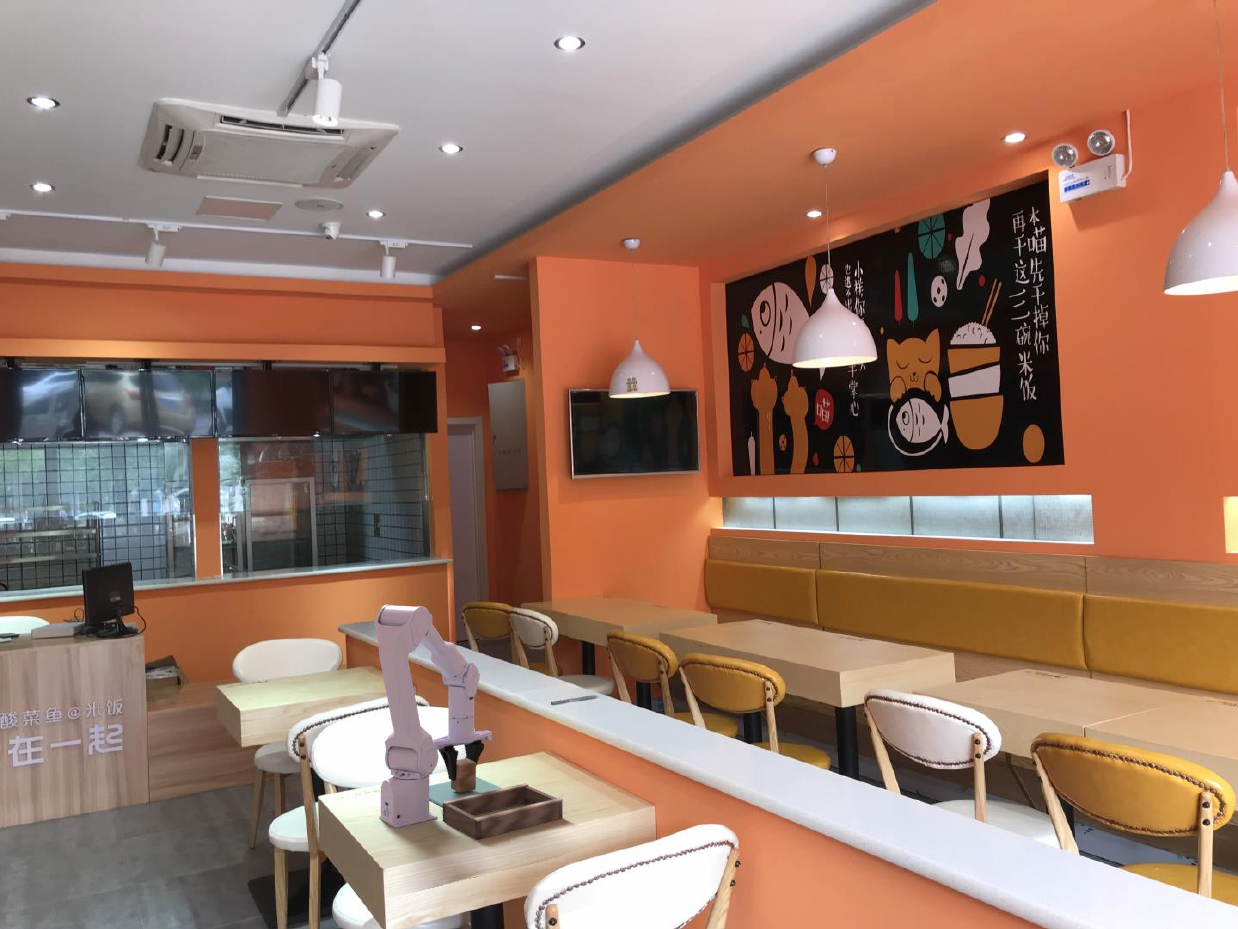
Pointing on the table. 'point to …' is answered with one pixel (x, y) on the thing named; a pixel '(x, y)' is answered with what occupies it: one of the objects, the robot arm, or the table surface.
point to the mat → (445, 793)
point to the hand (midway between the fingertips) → (461, 777)
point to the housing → (505, 821)
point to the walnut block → (464, 776)
